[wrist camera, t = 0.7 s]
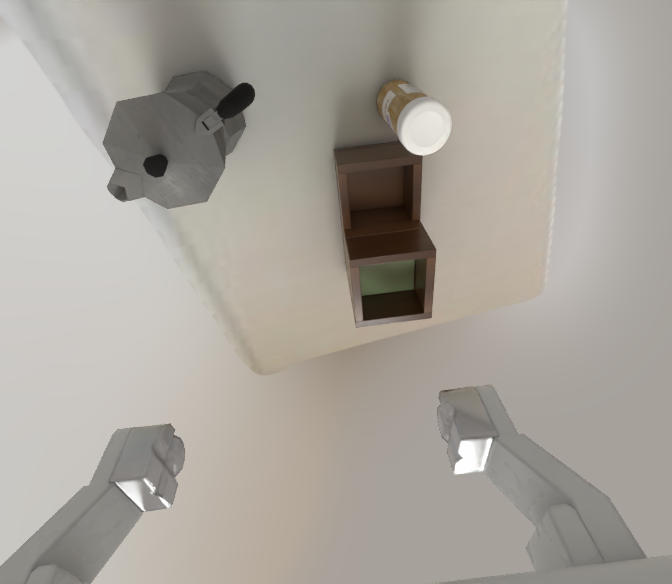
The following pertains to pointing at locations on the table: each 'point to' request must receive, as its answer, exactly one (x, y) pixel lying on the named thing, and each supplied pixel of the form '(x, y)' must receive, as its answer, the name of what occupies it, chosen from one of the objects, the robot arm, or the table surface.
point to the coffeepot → (175, 140)
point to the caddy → (384, 234)
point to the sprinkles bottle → (414, 117)
